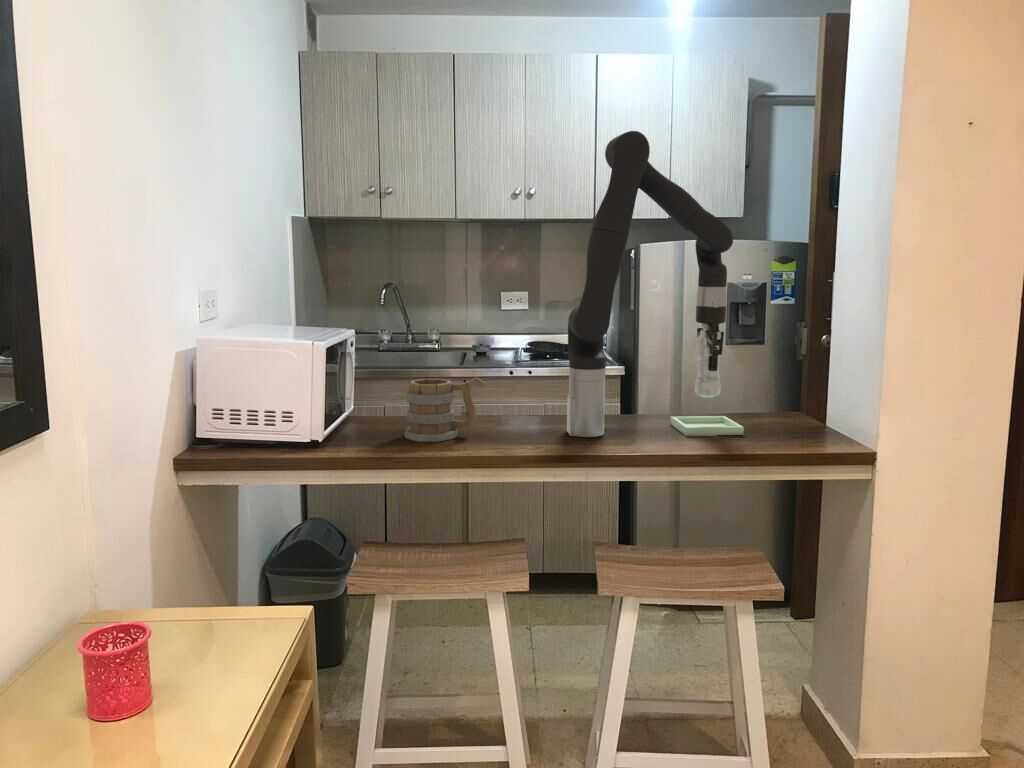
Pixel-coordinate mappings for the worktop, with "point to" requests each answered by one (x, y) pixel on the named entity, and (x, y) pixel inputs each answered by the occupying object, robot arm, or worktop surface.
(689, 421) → the tray
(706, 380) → the plastic bottle
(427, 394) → the tankard
